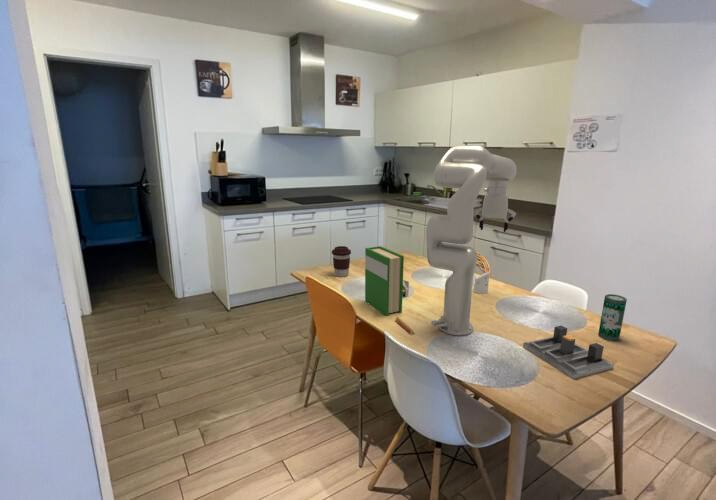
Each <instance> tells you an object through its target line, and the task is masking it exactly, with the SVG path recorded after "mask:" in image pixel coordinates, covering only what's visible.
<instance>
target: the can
mask: <svg viewBox="0 0 716 500" xmlns="http://www.w3.org/2000/svg"><path fill="white" fill-rule="evenodd" d="M627 301H628V299H627V298H626V297H625V296H622V295H618V294H614V293H613V294H612V293H611V294H605V296H604V300H603V305H602V309H601V316H600V323H599V329H598V333H597V335H598V337H599V338H601V339H602V340H606V341H609V342H618V341H619V340H620V337H621V332H622V327H623V321H624V316H625V310H626V306H627Z"/></svg>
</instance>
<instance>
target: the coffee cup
mask: <svg viewBox="0 0 716 500" xmlns="http://www.w3.org/2000/svg"><path fill="white" fill-rule="evenodd" d="M351 254H352V250H351V249H349V248H348V246H346V245H345V246H344V245H339V246H338V245H337V246H335V247H334V248H333V249H332V250H331V255H333V256H332V263H333V269H334V276H336V277H338V278H345V277H348V276H349V274H350V273H349V271H350V263H351Z"/></svg>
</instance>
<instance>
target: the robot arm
mask: <svg viewBox="0 0 716 500" xmlns="http://www.w3.org/2000/svg"><path fill="white" fill-rule="evenodd" d="M517 172H518V171H517V165H516V163H515V162H514V160H513V159H510V158H508V157H504V156H501V155H498V154H494V153H491V152H490V151H489V150H488V149H487V148H485V147H484V146H482V145H478V144H477V145H476V144H475V145H473V144H459V145H457V144H456V145H453V146H451V147H450V148H449V149H448V150H446V152H445V154H444V155H443V156H442V158H441V159H440V160H439V162H438V163H437V164H436V166H435V169H434V172H433V181H434V184H435V185H436V186H438V187H439V188H445V189H448V188H449V189H458V190H457V191H455V192H454V193H453V194H452V195H451V197H450V198H449V200H448V201H447V204H446V205H447V206H446V207H447V214H433V215H432V216H430V218H429V219H428V221H427V224H426V228H425V229H426V230H425V232H426V233H425V236H426V237H425V239H426V257H427V258H426V259H427V263H428V264H429V266H430V267H432V268H435V269H440V270H445V271H450V272H452V273H451V274H450V276H448V277H447V278H446V280H445V284H444V299H443V310H442V311H443V312H442V313H443V315H440V317H439V318H438V319H435V320H431V321H430V322H431V325H432V327H436V326H437V327H438V329H439V330H440V331H442V332H443V333H445V334H448V335H452V336H467V335H470V334H472V333H473V331H474V325H473V324H472V322H470V319H471V306H472V295H473V285H474V284H473V283H474V282H473V281H474V276H475V271H476V266H477V263H478V257H479V256H478V252H477V251H476V249H475V248H472V247H471V246H468V244H469V243H470V242H471V241H472V240H473V236H474V215H475V217H476V218H477V219H478V221H479V223H478V224H479V226H478V227H479V229H480V231H482V230H483V229H484V219H485V218H488V219H503V220H504V225H503V232H504V233H506V231H508V228H509V223H510V222H511V221H512V220H513V219H514V218H515V217H516V216H517V213H516V212H515V211H514V210H512V209H510V208H508V207H509V199H508V197H509V196H508V194H507V186H508V182H511V181H513V180H514V179H515V177H516V176H517ZM486 181H488V182H487V183H488V184H487V187H484V188H483V186H484V184H485V182H486ZM482 188H483V191H484V192H486V194H484V198H483V203H482V207H478V208H477V209H474V207H475V203H476V201H477V198H478V196H479V194H480V192H481V190H482ZM479 212H481V215H480V214H479ZM508 213H509V214H511V215H510V217H507V216H508ZM466 244H467V245H466Z"/></svg>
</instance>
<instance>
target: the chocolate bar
mask: <svg viewBox="0 0 716 500" xmlns="http://www.w3.org/2000/svg"><path fill="white" fill-rule="evenodd" d="M394 322H395V324H397V325H398V326H399V327H400V328H401V329H402V330H404V331H405V332H406V333H407V334H408V335H409V336H413V335H415V331H414V329H412V328H411V327H410V326H409V325H408V324H406V323H405V322H404V321H403V320H401V319H400V318H399V317H396V318H395V320H394Z"/></svg>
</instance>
